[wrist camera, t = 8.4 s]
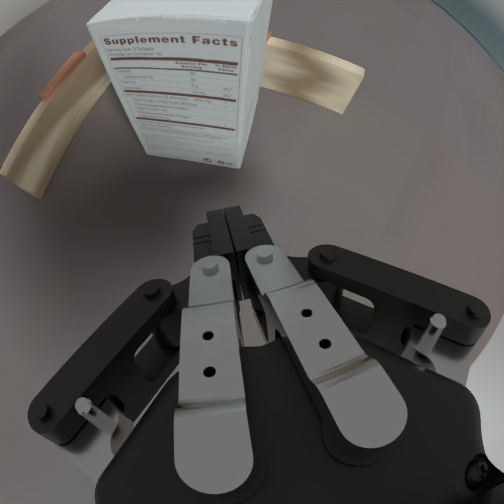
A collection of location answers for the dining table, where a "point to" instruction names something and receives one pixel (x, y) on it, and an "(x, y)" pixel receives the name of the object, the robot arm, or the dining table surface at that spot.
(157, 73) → the supplement box
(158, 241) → the dining table surface
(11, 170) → the wooden corner bracket
